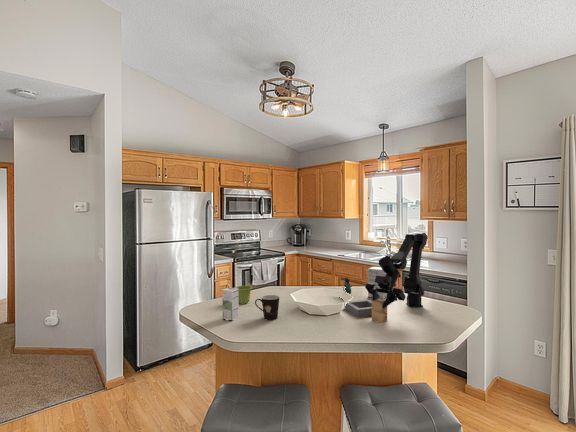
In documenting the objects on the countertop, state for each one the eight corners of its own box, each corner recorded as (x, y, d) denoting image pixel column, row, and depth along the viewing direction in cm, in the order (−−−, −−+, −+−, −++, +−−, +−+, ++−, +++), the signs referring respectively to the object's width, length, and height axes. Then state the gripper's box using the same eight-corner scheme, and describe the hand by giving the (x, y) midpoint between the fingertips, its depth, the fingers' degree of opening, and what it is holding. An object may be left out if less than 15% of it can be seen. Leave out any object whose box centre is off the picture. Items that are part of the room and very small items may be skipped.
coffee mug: (283, 317, 155) (283, 296, 155) (270, 322, 149) (270, 300, 149) (266, 312, 163) (266, 293, 163) (253, 317, 157) (253, 296, 157)
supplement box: (383, 299, 186) (383, 269, 185) (367, 297, 191) (367, 268, 190) (388, 295, 194) (387, 267, 193) (373, 293, 199) (372, 266, 199)
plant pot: (238, 300, 187) (237, 285, 187) (253, 300, 186) (253, 285, 186) (233, 305, 178) (232, 289, 178) (249, 305, 176) (249, 289, 176)
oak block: (377, 317, 153) (377, 298, 153) (387, 320, 150) (387, 300, 150) (371, 320, 150) (371, 300, 150) (381, 322, 146) (381, 303, 146)
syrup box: (239, 317, 156) (238, 287, 156) (232, 321, 150) (231, 290, 150) (229, 316, 158) (229, 286, 158) (222, 320, 153) (221, 289, 153)
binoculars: (333, 278, 198) (349, 276, 198) (335, 295, 198) (351, 293, 198) (335, 281, 189) (352, 279, 189) (337, 299, 189) (354, 297, 189)
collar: (368, 306, 172) (368, 299, 172) (383, 314, 159) (383, 306, 159) (344, 308, 168) (344, 302, 168) (357, 317, 155) (357, 309, 155)
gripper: (366, 266, 159) (353, 292, 152) (402, 271, 145) (389, 300, 138) (376, 280, 165) (363, 306, 157) (410, 286, 151) (398, 315, 143)
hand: (377, 306), depth 149 cm, fingers closed on oak block, 5 cm apart
